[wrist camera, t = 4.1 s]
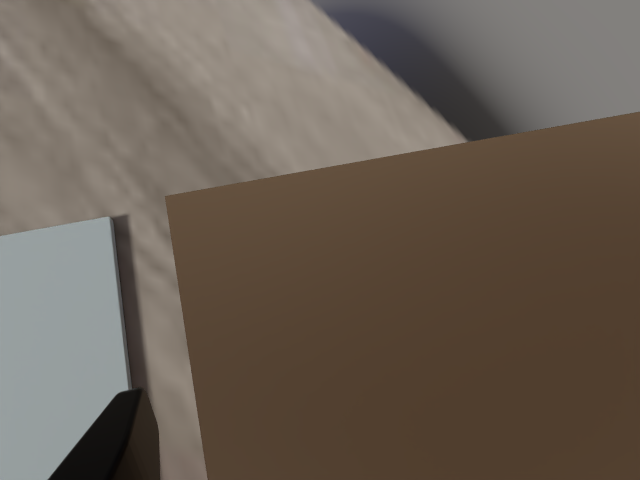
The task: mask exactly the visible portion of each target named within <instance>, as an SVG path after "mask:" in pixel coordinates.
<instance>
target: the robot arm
mask: <svg viewBox="0 0 640 480" xmlns="http://www.w3.org/2000/svg"><path fill="white" fill-rule="evenodd" d="M47 480H160V455H159V430H158V425H157V421H156V418H155V415H154V412H153V410H152V407H151V404H150V401H149V398H148V395H147V393H146V391H145V390H144V389H143V388H141V387H138V388H134V389H130V390H125V391H121V392H119V393H117V394H116V395H115V396H114V398H113V399H112V400H111V401H110V403H109V404H108V405H107V406H106V408H105V409H104V410H103V411H102V413H101V414H100V415H99V416H98V417H97V419H96V420H95V421H94V422H93V424H92V425H91V426H90V427H89V429H88V430H87V431H86V432H85V434H84V435H83V436H82V437H81V439H80V440H79V441H78V442H77V444H76V445H75V446H74V447H73V448H72V450H71V451H70V452H69V453H68V455H67V456H66V457H65V458H64V460H63V461H62V462H61V463H60V465H59V466H58V467H57V468H56V470H55V471H54V472H53V473H52V475H51V476H50V477H49V478H48V479H47Z"/></svg>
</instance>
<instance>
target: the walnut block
mask: <svg viewBox="0 0 640 480" xmlns="http://www.w3.org/2000/svg"><path fill="white" fill-rule="evenodd" d="M165 200H166V206H167V213H168V219H169V226H170V233H171V239H172V246H173V253H174V259H175V266H176V272H177V279H178V286H179V292H180V299H181V305H182V312H183V319H184V325H185V332H186V339H187V345H188V352H189V358H190V365H191V372H192V378H193V385H194V392H195V398H196V405H197V411H198V418H199V425H200V431H201V438H202V444H203V451H204V458H205V464H206V471H207V478H208V480H640V112H636V113H630V114H625V115H619V116H613V117H607V118H602V119H596V120H591V121H585V122H579V123H574V124H569V125H563V126H557V127H551V128H546V129H540V130H535V131H529V132H523V133H518V134H512V135H506V136H501V137H495V138H489V139H484V140H478V141H473V142H467V143H461V144H456V145H450V146H444V147H439V148H433V149H428V150H422V151H416V152H411V153H405V154H399V155H394V156H388V157H383V158H377V159H371V160H366V161H360V162H355V163H349V164H343V165H338V166H332V167H326V168H321V169H315V170H310V171H304V172H298V173H293V174H287V175H281V176H276V177H270V178H265V179H259V180H253V181H248V182H242V183H236V184H231V185H225V186H220V187H214V188H208V189H203V190H197V191H191V192H186V193H180V194H175V195H169V196H165Z"/></svg>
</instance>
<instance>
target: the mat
mask: <svg viewBox="0 0 640 480" xmlns="http://www.w3.org/2000/svg"><path fill="white" fill-rule="evenodd" d="M130 389H132V384H131V375H130V367H129V358H128V349H127V340H126V331H125V322H124V313H123V304H122V296H121V287H120V278H119V269H118V260H117V251H116V242H115V233H114V224H113V220H112V219H111V218H110V217H103V218H98V219H92V220H87V221H81V222H76V223H70V224H65V225H59V226H53V227H48V228H42V229H37V230H31V231H26V232H20V233H15V234H9V235H3V236H0V480H47V479H48V478H49V477H50V476H51V475H52V473H53V472H54V471H55V470H56V468H57V467H58V466H59V465H60V463H61V462H62V461H63V460H64V458H65V457H66V456H67V455H68V453H69V452H70V451H71V450H72V448H73V447H74V446H75V445H76V444H77V442H78V441H79V440H80V439H81V437H82V436H83V435H84V434H85V432H86V431H87V430H88V429H89V427H90V426H91V425H92V424H93V422H94V421H95V420H96V419H97V417H98V416H99V415H100V414H101V413H102V411H103V410H104V409H105V408H106V406H107V405H108V404H109V403H110V401H111V400H112V399H113V398H114V396H115V395H116V394H117V393H119V392H121V391H125V390H130Z"/></svg>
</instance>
